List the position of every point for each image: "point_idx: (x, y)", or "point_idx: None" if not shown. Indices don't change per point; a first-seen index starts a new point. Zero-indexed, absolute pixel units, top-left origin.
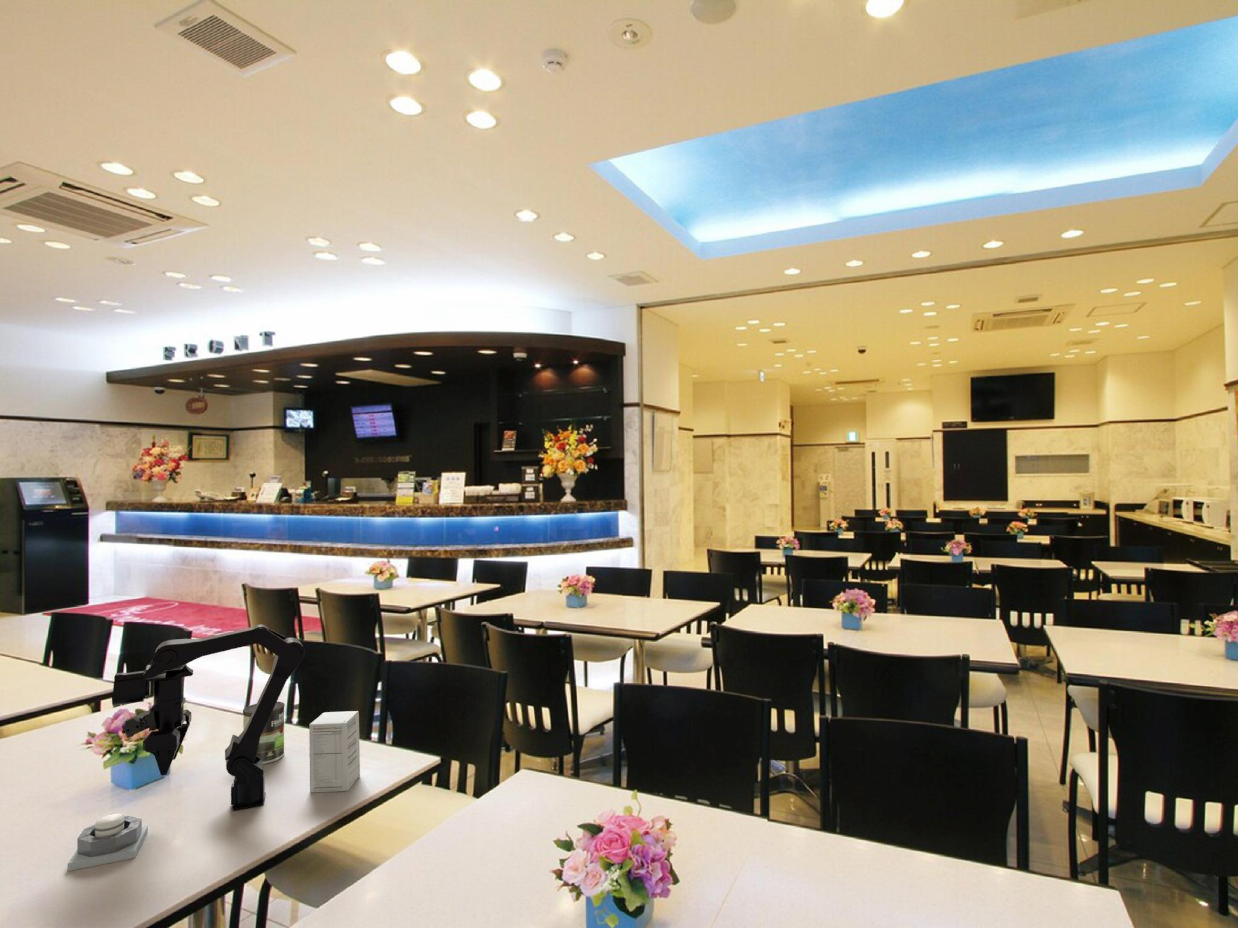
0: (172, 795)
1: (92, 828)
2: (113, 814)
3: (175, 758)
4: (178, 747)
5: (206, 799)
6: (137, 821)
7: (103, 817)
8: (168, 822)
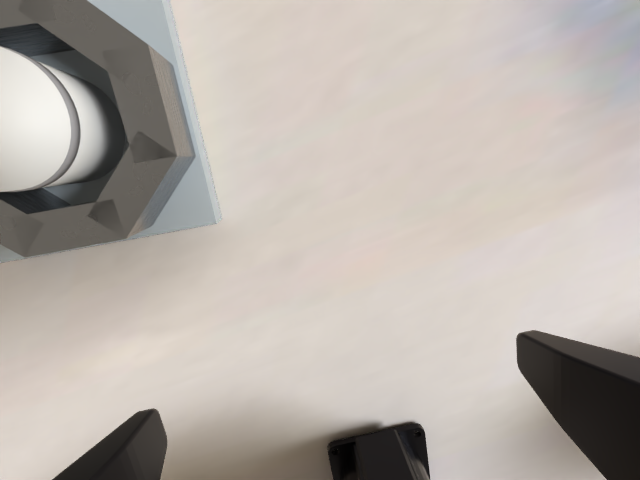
0: (550, 180)
1: (41, 18)
2: (49, 110)
3: (523, 373)
4: (614, 474)
5: (459, 324)
6: (97, 231)
7: (13, 61)
8: (295, 261)
